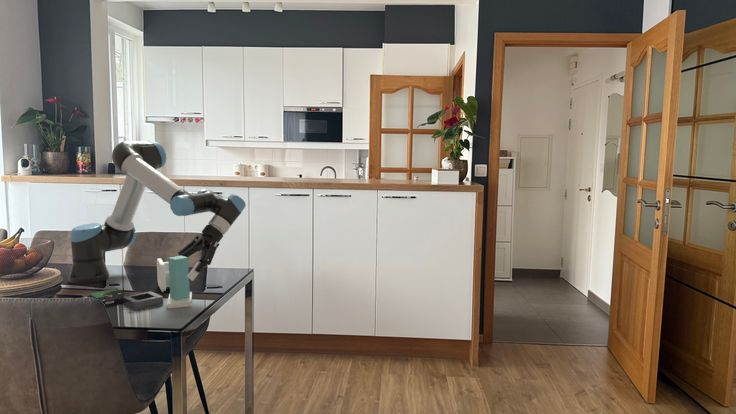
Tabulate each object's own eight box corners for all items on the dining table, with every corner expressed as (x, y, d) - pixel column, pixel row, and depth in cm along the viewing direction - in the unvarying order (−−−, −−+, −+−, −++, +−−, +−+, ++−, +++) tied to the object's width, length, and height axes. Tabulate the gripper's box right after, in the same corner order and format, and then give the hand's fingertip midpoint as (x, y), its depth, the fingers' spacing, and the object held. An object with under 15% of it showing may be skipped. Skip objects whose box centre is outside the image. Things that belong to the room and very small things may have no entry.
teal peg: (170, 297, 191) (168, 257, 189) (183, 294, 194) (181, 255, 193) (176, 300, 187) (174, 259, 186) (189, 297, 191) (188, 257, 189)
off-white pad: (169, 297, 197) (169, 293, 196) (192, 295, 199) (191, 291, 199) (167, 308, 183) (166, 304, 183) (191, 306, 186) (190, 302, 185)
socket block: (123, 305, 187) (122, 296, 187) (150, 299, 194) (150, 291, 194) (135, 311, 180) (134, 302, 180) (163, 304, 188) (162, 296, 187)
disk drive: (131, 303, 192) (116, 294, 202) (131, 295, 191) (116, 287, 202) (101, 309, 184) (87, 300, 195) (101, 301, 184) (87, 292, 194)
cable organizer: (157, 285, 214) (155, 257, 213) (184, 281, 219) (182, 254, 218) (161, 294, 201) (160, 264, 200) (190, 290, 206) (188, 261, 204)
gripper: (240, 239, 193) (205, 287, 184) (205, 232, 210) (171, 275, 201) (227, 227, 188) (190, 275, 179) (192, 220, 205) (157, 264, 196)
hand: (180, 275), depth 190 cm, fingers open, 13 cm apart
